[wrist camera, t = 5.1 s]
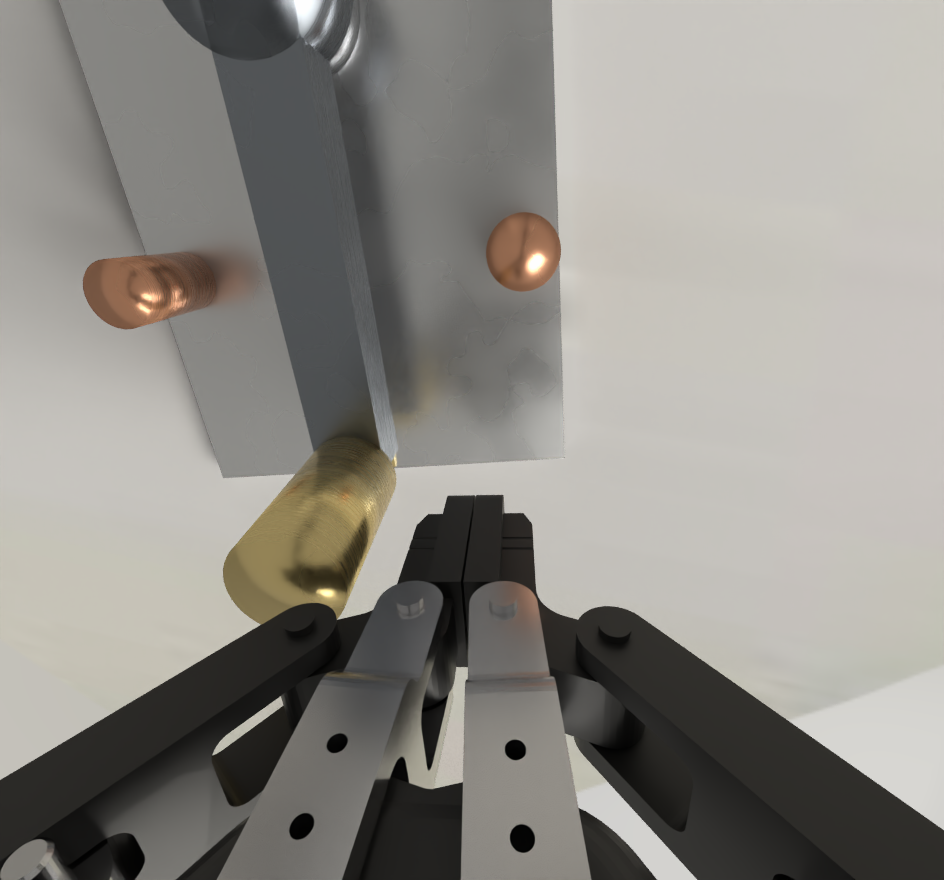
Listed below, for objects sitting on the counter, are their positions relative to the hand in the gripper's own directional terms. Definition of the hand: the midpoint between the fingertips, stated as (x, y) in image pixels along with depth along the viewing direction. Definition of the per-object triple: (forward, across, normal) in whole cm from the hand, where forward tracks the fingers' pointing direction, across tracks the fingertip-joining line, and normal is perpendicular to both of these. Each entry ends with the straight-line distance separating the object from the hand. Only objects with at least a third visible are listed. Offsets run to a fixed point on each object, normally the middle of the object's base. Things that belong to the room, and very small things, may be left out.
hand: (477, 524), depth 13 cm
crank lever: (+3, +4, -7) cm, 9 cm away
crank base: (+5, +4, -8) cm, 10 cm away
